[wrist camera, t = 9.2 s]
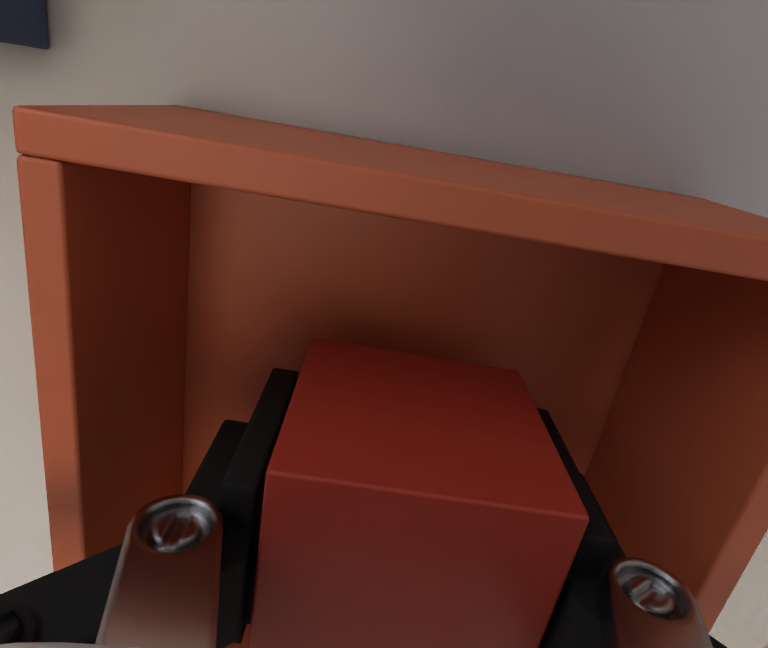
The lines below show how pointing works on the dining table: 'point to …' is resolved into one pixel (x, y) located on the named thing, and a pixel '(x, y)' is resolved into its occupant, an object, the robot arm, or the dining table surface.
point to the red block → (411, 508)
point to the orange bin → (386, 312)
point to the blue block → (24, 23)
